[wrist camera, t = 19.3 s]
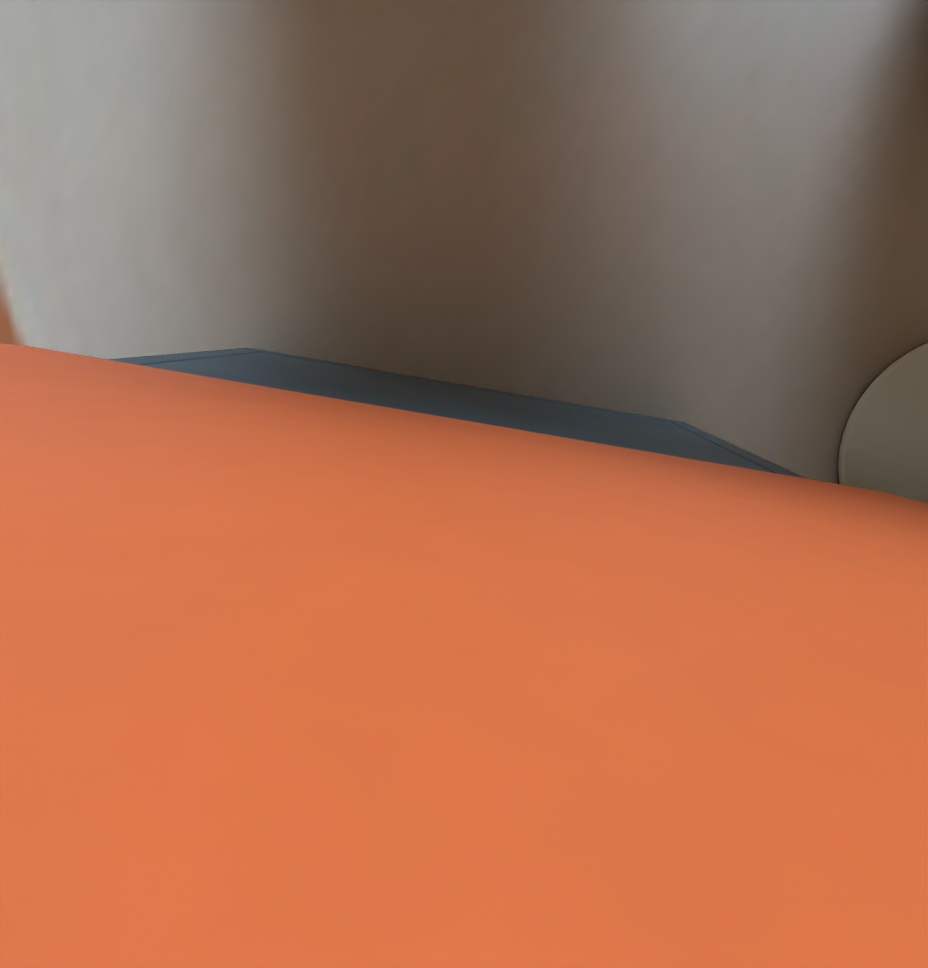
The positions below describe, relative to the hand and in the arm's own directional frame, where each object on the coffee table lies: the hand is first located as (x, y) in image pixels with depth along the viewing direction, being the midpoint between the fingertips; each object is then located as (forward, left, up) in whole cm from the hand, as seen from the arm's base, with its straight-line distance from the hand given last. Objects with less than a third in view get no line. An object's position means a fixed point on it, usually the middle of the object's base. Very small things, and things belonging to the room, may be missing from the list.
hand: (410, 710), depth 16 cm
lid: (-8, 0, +9) cm, 12 cm away
